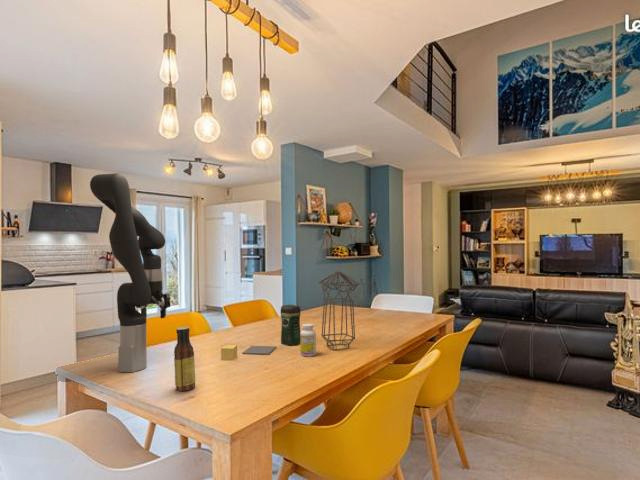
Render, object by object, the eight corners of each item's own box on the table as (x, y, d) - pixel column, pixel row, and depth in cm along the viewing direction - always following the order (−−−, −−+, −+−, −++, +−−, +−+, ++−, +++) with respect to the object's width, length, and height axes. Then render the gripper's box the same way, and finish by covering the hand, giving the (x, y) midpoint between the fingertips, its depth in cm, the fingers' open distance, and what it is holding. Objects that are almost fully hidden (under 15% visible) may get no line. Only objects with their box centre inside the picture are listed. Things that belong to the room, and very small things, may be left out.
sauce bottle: (197, 384, 126) (197, 325, 126) (192, 391, 120) (191, 329, 120) (178, 385, 126) (177, 326, 126) (171, 392, 119) (171, 330, 120)
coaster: (268, 354, 160) (268, 353, 160) (242, 354, 162) (242, 352, 162) (276, 347, 172) (276, 346, 172) (251, 346, 174) (251, 345, 174)
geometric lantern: (316, 345, 176) (316, 270, 177) (347, 342, 181) (346, 270, 183) (329, 353, 161) (329, 272, 163) (361, 350, 166) (361, 271, 168)
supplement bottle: (306, 351, 164) (305, 322, 165) (318, 353, 161) (318, 324, 161) (297, 355, 159) (297, 325, 159) (310, 357, 155) (310, 326, 155)
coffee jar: (304, 343, 179) (303, 304, 180) (292, 346, 173) (291, 306, 174) (290, 340, 186) (289, 303, 186) (278, 343, 180) (277, 305, 180)
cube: (232, 360, 153) (232, 348, 153) (221, 360, 154) (221, 348, 154) (237, 357, 158) (237, 345, 158) (226, 356, 159) (225, 345, 159)
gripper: (131, 280, 155) (132, 319, 155) (162, 280, 153) (163, 320, 153) (142, 278, 163) (143, 315, 163) (173, 278, 160) (173, 316, 160)
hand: (153, 317), depth 158 cm, fingers open, 8 cm apart
